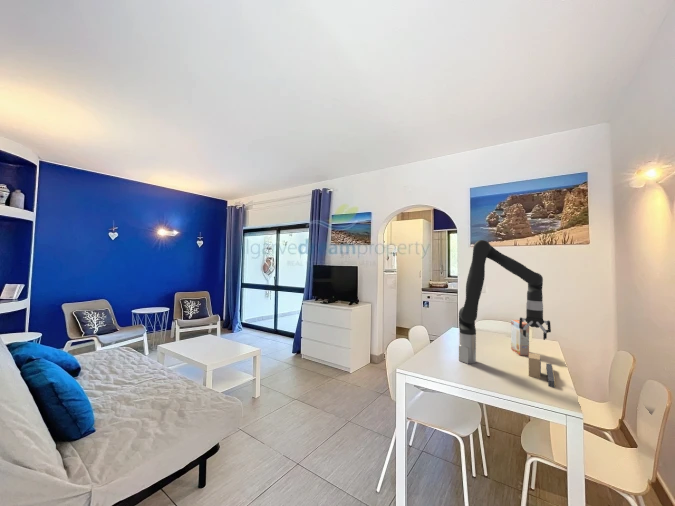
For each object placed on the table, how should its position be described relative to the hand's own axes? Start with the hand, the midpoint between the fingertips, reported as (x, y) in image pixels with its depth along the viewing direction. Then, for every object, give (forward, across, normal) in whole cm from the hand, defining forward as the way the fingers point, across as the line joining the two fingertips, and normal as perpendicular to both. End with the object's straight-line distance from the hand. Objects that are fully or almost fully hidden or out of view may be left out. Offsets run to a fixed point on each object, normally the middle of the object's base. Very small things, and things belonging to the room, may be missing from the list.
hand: (534, 338), depth 152 cm
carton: (+20, 0, 0) cm, 20 cm away
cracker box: (+20, +8, -38) cm, 44 cm away
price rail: (+20, -7, 0) cm, 21 cm away
